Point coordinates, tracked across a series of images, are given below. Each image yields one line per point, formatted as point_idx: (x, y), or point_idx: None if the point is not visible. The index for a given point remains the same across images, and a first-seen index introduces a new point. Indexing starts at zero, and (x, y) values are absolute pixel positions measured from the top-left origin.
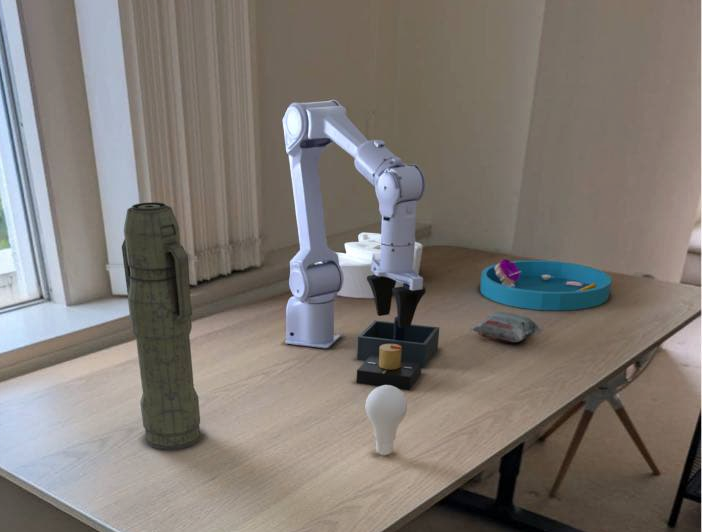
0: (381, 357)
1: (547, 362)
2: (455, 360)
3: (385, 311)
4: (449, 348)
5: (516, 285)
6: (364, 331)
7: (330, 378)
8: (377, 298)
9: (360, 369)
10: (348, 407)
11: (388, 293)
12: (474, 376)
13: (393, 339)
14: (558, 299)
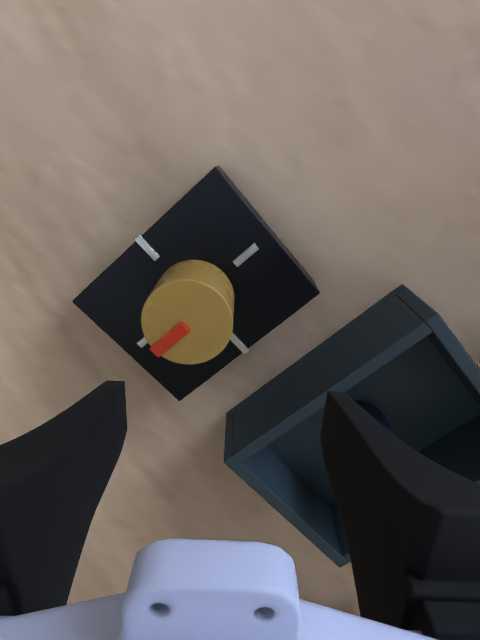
0: (184, 270)
1: None
2: (235, 502)
3: (325, 432)
4: None
5: None
6: (470, 366)
7: (308, 99)
8: (361, 442)
9: (214, 183)
10: (21, 3)
11: (352, 523)
12: (114, 480)
13: (386, 428)
14: None
